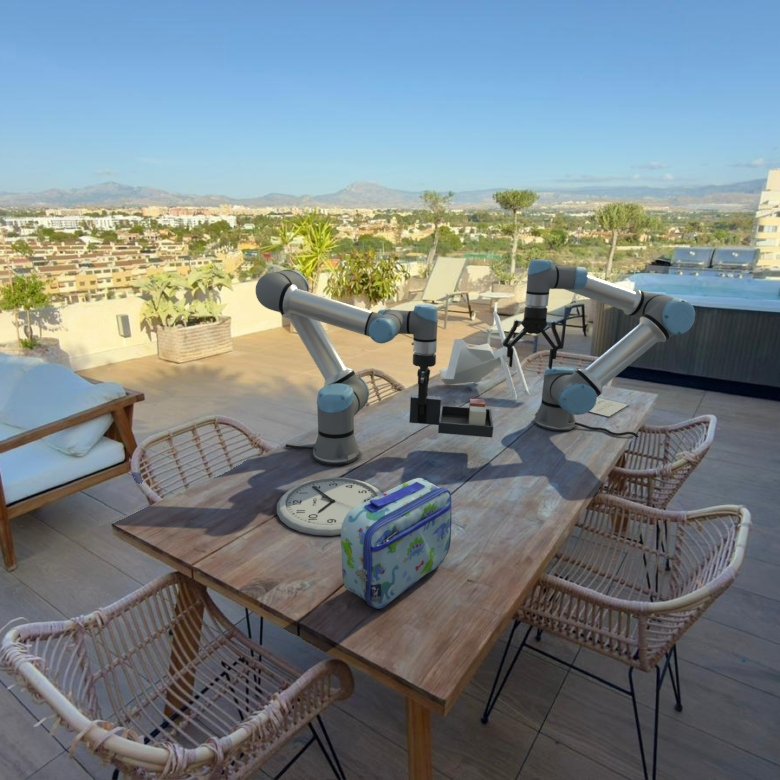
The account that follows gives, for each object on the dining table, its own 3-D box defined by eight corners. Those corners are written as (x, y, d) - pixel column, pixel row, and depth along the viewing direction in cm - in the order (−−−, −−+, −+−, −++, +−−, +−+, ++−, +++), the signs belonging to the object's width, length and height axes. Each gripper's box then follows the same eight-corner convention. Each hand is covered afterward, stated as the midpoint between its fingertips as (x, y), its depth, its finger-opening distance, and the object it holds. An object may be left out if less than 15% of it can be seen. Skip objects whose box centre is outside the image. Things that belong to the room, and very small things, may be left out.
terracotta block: (483, 418, 180) (484, 399, 178) (483, 423, 176) (485, 404, 173) (468, 417, 181) (470, 398, 179) (468, 422, 176) (470, 403, 174)
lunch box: (370, 622, 101) (370, 527, 94) (335, 595, 108) (333, 505, 102) (455, 565, 118) (460, 481, 112) (420, 544, 125) (423, 465, 119)
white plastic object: (461, 429, 252) (437, 405, 227) (444, 352, 274) (420, 323, 250) (535, 404, 240) (518, 377, 215) (510, 326, 262) (492, 293, 237)
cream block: (483, 427, 173) (485, 407, 171) (484, 432, 168) (486, 412, 166) (468, 425, 173) (470, 406, 171) (468, 431, 169) (470, 411, 167)
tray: (489, 418, 182) (492, 394, 179) (492, 437, 166) (494, 411, 163) (412, 412, 185) (413, 388, 183) (407, 430, 169) (408, 404, 166)
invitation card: (608, 416, 214) (573, 407, 224) (608, 416, 214) (573, 408, 224) (628, 404, 229) (594, 396, 238) (628, 405, 229) (594, 397, 238)
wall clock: (392, 527, 129) (268, 531, 127) (391, 533, 130) (269, 537, 127) (383, 473, 158) (282, 475, 155) (383, 478, 158) (282, 480, 156)
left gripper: (415, 347, 178) (413, 412, 185) (410, 358, 163) (408, 428, 170) (437, 348, 177) (434, 413, 184) (434, 359, 162) (431, 430, 169)
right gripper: (571, 306, 179) (564, 366, 186) (498, 303, 182) (493, 362, 188) (576, 309, 172) (568, 371, 179) (499, 306, 175) (494, 368, 181)
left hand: (422, 420), depth 177 cm, fingers closed on tray, 3 cm apart
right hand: (530, 367), depth 184 cm, fingers open, 13 cm apart
